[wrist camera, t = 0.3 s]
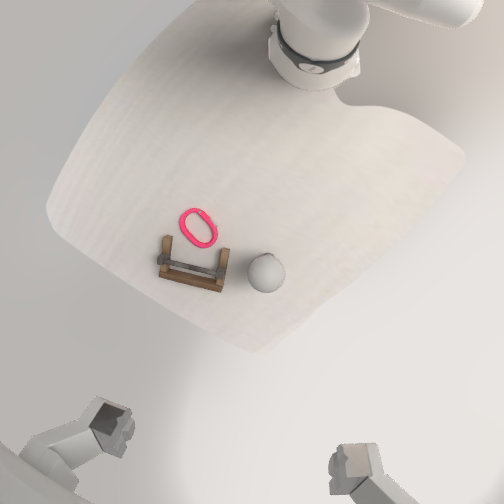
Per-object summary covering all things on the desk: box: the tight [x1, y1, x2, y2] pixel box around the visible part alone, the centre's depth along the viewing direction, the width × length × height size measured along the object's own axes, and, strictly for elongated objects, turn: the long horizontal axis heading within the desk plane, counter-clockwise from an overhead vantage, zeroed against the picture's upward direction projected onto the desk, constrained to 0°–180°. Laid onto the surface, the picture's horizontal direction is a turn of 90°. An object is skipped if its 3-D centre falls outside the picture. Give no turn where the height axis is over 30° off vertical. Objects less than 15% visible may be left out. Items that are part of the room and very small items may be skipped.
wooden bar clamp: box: [157, 235, 230, 293], centre depth 54 cm, size 8×13×4 cm, turn 79°
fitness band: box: [180, 208, 218, 248], centre depth 53 cm, size 8×6×2 cm
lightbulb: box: [248, 253, 285, 293], centre depth 49 cm, size 6×6×11 cm
